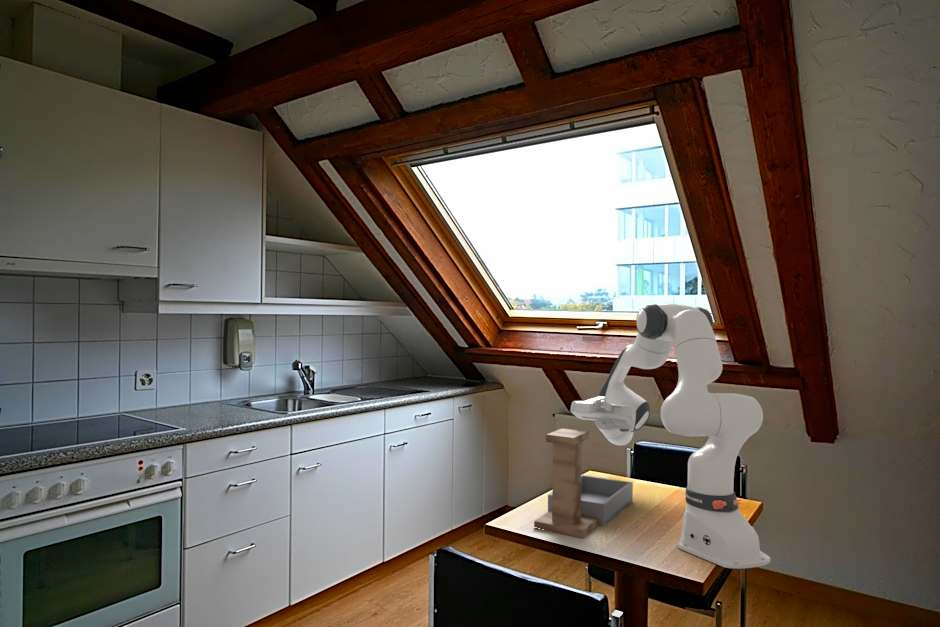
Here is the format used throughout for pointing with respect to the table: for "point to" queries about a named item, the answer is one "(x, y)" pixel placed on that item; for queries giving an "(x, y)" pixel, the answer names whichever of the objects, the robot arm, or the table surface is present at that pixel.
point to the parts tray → (602, 497)
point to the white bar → (589, 405)
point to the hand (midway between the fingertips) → (596, 402)
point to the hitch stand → (567, 486)
